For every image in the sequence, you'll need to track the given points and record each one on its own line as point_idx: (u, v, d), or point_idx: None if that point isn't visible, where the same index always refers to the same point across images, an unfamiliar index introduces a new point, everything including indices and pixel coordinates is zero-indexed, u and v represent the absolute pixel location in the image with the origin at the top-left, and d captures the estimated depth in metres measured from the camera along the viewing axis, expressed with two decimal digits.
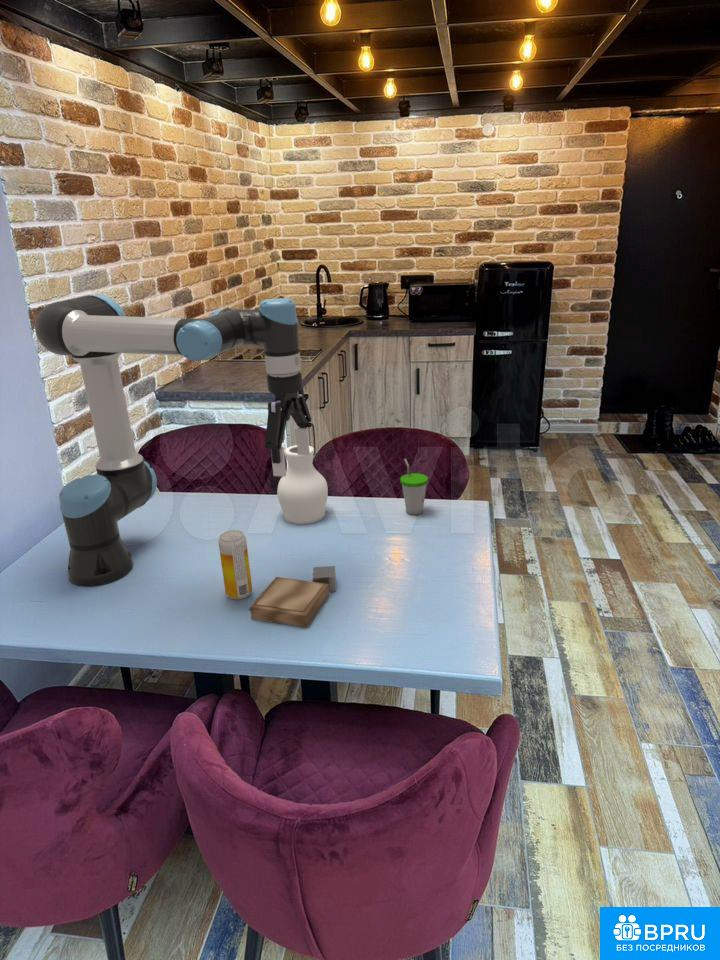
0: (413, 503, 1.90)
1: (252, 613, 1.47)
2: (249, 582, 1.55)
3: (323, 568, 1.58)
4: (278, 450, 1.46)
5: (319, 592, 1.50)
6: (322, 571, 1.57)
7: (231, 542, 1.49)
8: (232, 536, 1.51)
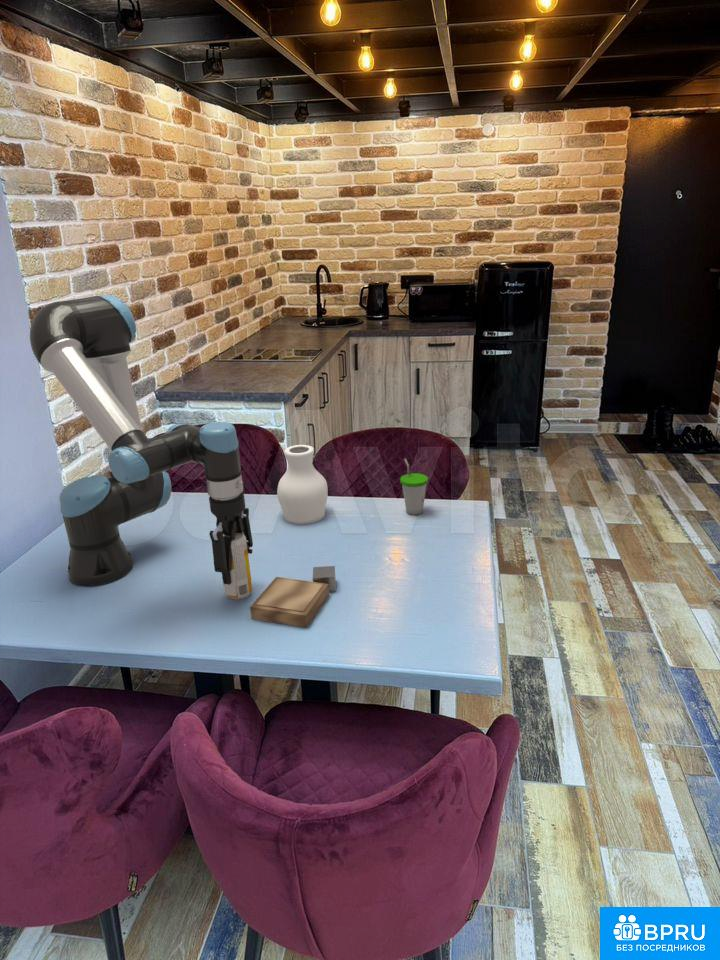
0: (413, 503, 1.90)
1: (252, 613, 1.47)
2: (249, 582, 1.55)
3: (323, 568, 1.58)
4: (228, 572, 1.50)
5: (319, 592, 1.50)
6: (322, 571, 1.57)
7: (231, 542, 1.49)
8: None
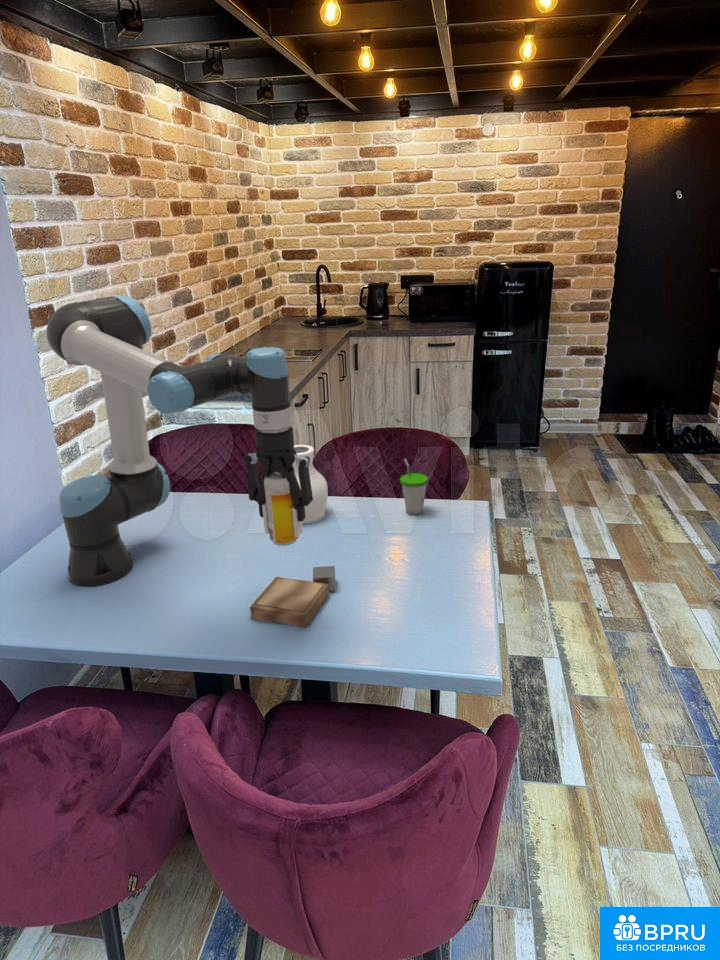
0: (413, 503, 1.90)
1: (252, 613, 1.47)
2: (277, 532, 1.41)
3: (323, 568, 1.58)
4: (261, 504, 1.42)
5: (319, 592, 1.50)
6: (322, 571, 1.57)
7: (265, 477, 1.39)
8: (277, 475, 1.39)
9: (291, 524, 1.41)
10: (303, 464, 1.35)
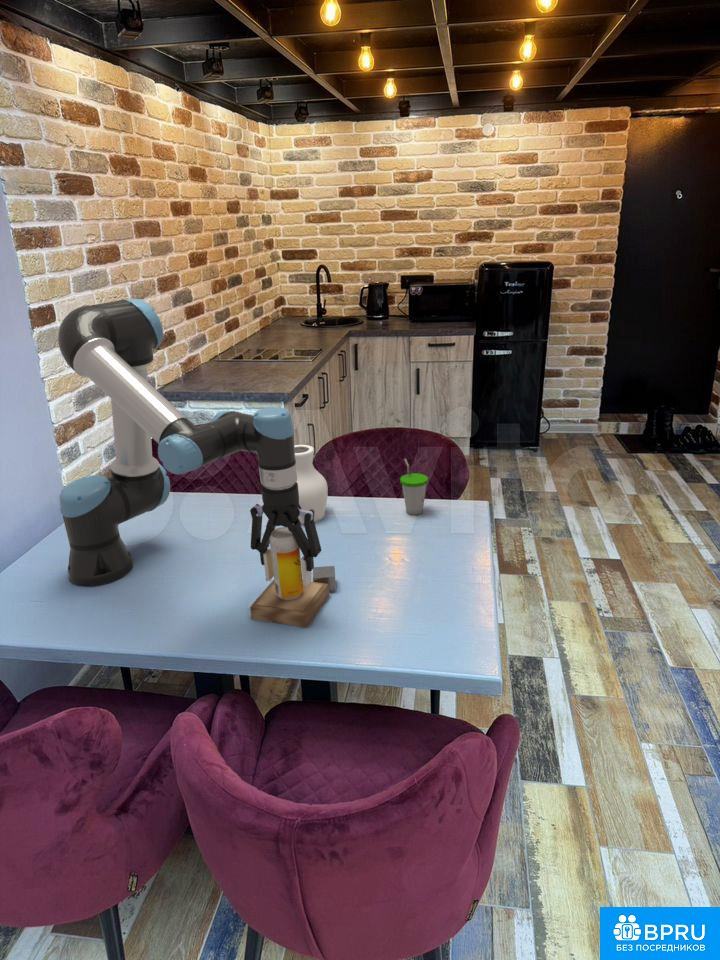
0: (413, 503, 1.90)
1: (252, 613, 1.47)
2: (282, 587, 1.46)
3: (323, 568, 1.58)
4: (262, 553, 1.47)
5: (319, 592, 1.50)
6: (322, 571, 1.57)
7: None
8: (282, 532, 1.44)
9: (296, 580, 1.46)
10: (308, 517, 1.39)
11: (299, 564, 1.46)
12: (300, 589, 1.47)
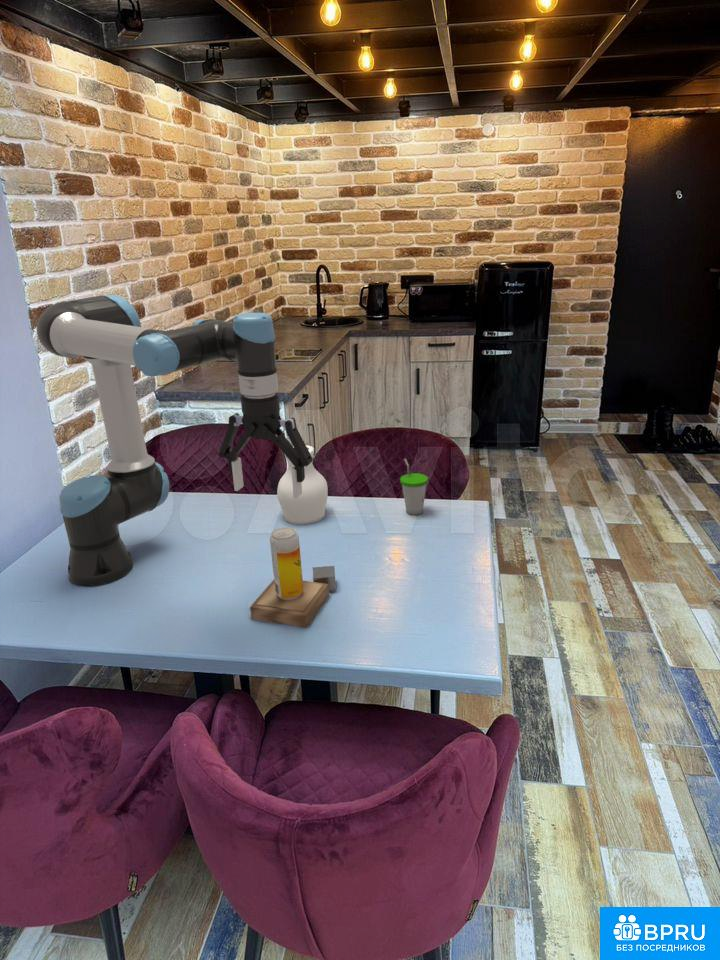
0: (413, 503, 1.90)
1: (252, 613, 1.47)
2: (282, 587, 1.46)
3: (323, 568, 1.58)
4: (230, 461, 1.43)
5: (319, 592, 1.50)
6: (322, 571, 1.57)
7: (271, 535, 1.44)
8: (282, 533, 1.44)
9: (296, 580, 1.46)
10: (289, 424, 1.34)
11: (299, 564, 1.46)
12: (300, 589, 1.47)
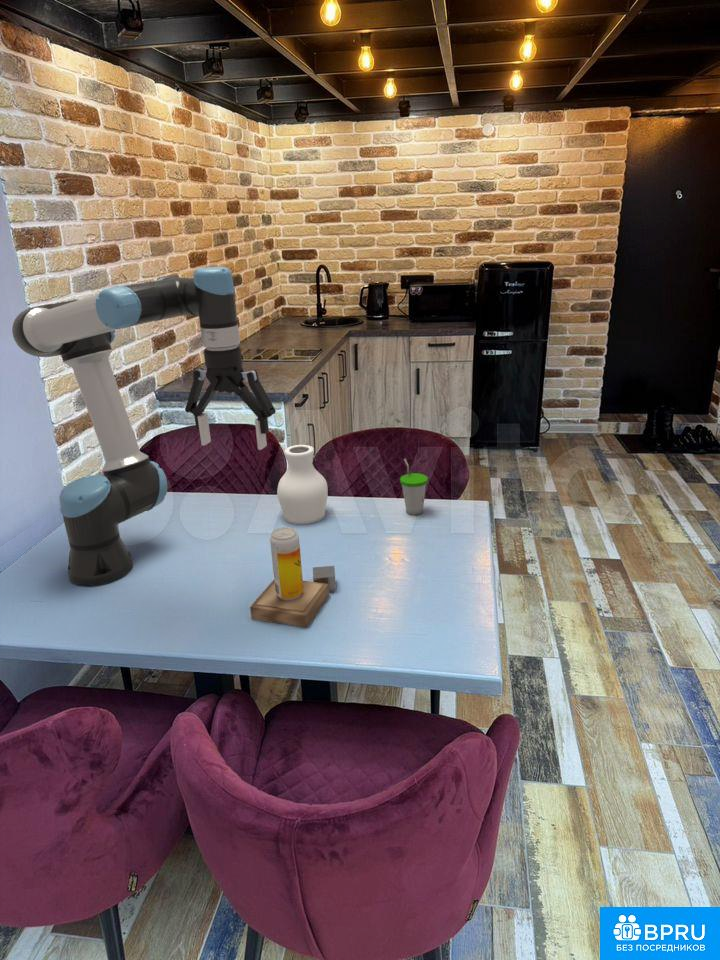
0: (412, 503, 1.90)
1: (252, 613, 1.47)
2: (282, 587, 1.46)
3: (323, 568, 1.58)
4: (197, 416, 1.47)
5: (319, 592, 1.50)
6: (322, 571, 1.57)
7: (271, 535, 1.44)
8: (283, 533, 1.44)
9: (296, 580, 1.46)
10: (250, 376, 1.38)
11: (299, 565, 1.46)
12: (300, 589, 1.47)
